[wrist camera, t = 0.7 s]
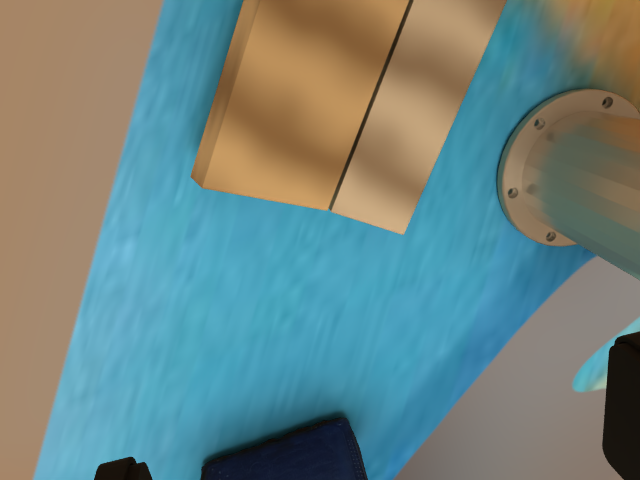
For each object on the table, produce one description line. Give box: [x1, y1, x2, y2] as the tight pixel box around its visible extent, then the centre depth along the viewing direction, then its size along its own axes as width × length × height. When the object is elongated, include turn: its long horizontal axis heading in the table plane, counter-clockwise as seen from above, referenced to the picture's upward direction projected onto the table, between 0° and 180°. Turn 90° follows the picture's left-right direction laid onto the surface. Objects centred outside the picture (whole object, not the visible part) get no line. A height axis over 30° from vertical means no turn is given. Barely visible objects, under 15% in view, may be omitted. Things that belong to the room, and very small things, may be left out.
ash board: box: [329, 0, 507, 235], centre depth 36 cm, size 24×6×2 cm, turn 159°
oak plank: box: [190, 0, 409, 211], centre depth 32 cm, size 24×10×2 cm, turn 159°
